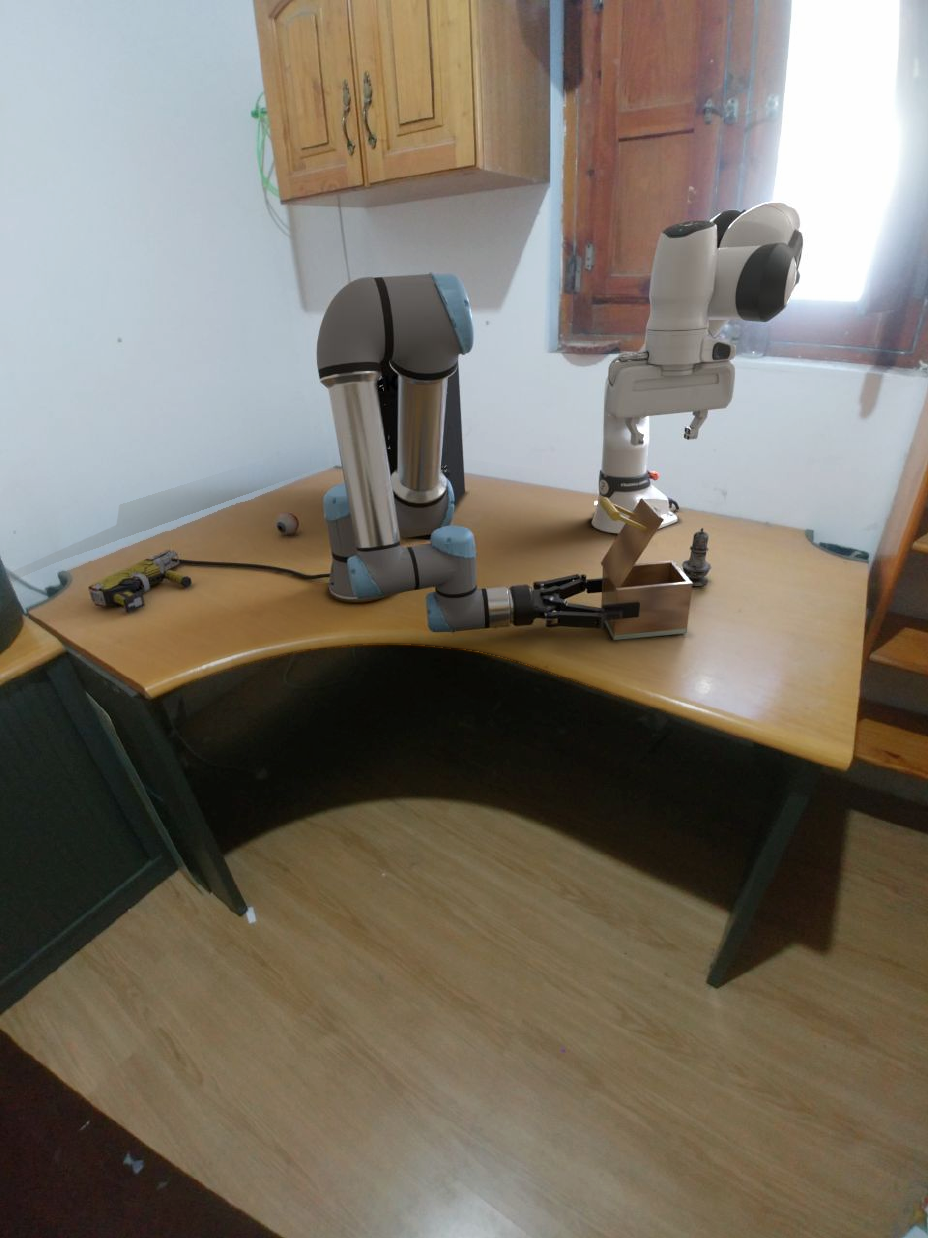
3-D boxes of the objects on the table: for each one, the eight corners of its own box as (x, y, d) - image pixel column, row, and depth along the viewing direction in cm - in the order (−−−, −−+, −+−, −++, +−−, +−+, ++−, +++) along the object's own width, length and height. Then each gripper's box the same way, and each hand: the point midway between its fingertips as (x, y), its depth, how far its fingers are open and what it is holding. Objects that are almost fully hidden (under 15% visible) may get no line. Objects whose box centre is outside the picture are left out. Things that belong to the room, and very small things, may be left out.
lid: (646, 500, 108) (608, 481, 106) (664, 519, 99) (623, 500, 97) (605, 565, 114) (568, 549, 112) (619, 588, 105) (579, 571, 103)
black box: (432, 538, 157) (416, 350, 135) (359, 535, 162) (333, 353, 139) (465, 491, 189) (456, 333, 166) (403, 490, 193) (387, 336, 171)
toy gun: (215, 558, 145) (165, 547, 149) (137, 600, 125) (81, 586, 129) (218, 575, 148) (168, 564, 152) (142, 619, 128) (87, 605, 131)
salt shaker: (710, 587, 126) (720, 533, 120) (681, 586, 127) (688, 532, 121) (706, 574, 131) (715, 522, 125) (678, 573, 132) (685, 522, 126)
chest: (668, 607, 119) (673, 560, 114) (686, 633, 111) (692, 583, 106) (600, 614, 119) (602, 566, 114) (613, 640, 111) (616, 590, 106)
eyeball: (273, 537, 164) (268, 516, 161) (287, 528, 169) (282, 508, 166) (291, 539, 161) (286, 518, 158) (305, 530, 166) (301, 510, 163)
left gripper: (502, 596, 122) (610, 587, 123) (520, 656, 103) (648, 645, 104) (501, 562, 119) (612, 553, 120) (520, 618, 99) (652, 607, 100)
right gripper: (618, 356, 87) (611, 453, 94) (747, 346, 90) (731, 439, 97) (601, 352, 92) (595, 443, 99) (722, 342, 95) (709, 431, 102)
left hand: (629, 596), depth 112 cm, fingers closed on chest, 10 cm apart
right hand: (663, 441), depth 98 cm, fingers open, 8 cm apart
